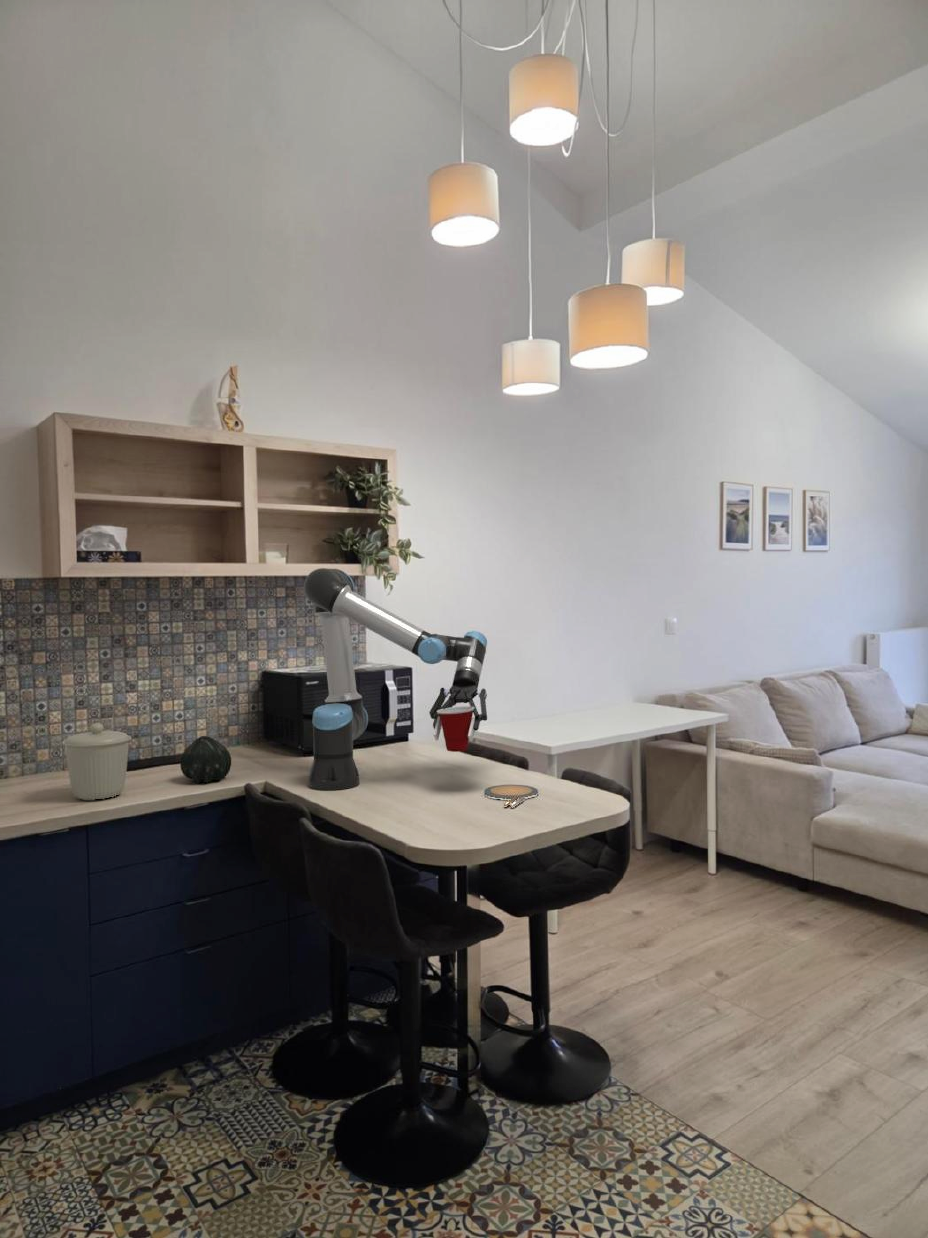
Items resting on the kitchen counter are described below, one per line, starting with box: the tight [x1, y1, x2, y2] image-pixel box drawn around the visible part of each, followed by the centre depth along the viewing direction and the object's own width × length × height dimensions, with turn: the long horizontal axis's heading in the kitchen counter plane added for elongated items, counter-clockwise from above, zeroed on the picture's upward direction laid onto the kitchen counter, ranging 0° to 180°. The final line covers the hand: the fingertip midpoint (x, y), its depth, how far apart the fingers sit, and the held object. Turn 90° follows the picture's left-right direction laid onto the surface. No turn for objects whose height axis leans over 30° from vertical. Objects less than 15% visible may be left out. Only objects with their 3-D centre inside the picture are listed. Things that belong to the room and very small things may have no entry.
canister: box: [61, 722, 132, 801], centre depth 242 cm, size 18×18×21 cm
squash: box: [180, 735, 232, 783], centre depth 261 cm, size 14×15×15 cm
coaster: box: [483, 784, 539, 799], centre depth 237 cm, size 15×15×1 cm
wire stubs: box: [503, 796, 525, 807], centre depth 226 cm, size 9×3×1 cm, turn 156°
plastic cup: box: [437, 705, 474, 753], centre depth 241 cm, size 11×11×12 cm
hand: (452, 738), depth 238 cm, fingers closed on plastic cup, 9 cm apart
